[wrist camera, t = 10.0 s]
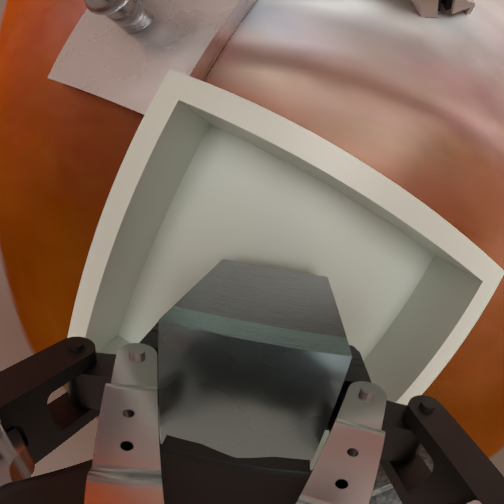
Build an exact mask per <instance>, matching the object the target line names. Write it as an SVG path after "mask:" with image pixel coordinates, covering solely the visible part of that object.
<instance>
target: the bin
mask: <svg viewBox="0 0 504 504" xmlns="http://www.w3.org/2000/svg"><path fill="white" fill-rule="evenodd" d="M222 259H226V260H231V261H237V262H243V263H248V264H254V265H260V266H266V267H271V268H277V269H283V270H289V271H295V272H301V273H307V274H312V275H318V276H324V277H328V280H329V283H330V286H331V289H332V292H333V295H334V298H335V302H336V305H337V308H338V311H339V314H340V317H341V320H342V324H343V327H344V330H345V333H346V337H347V340H348V343H349V345H352V346H354V347H355V348H356V349H357V350H358V351H359V352H360V354H361V356H362V359H363V361H364V364H365V367H366V369H367V372H368V374H369V377H370V380H371V382H372V383H374V384H376V385H378V386H380V387H381V388H382V389H383V390H384V391H385V392H386V394H387V400H388V401H391V402H395V403H399V404H403V405H408V403H409V401H410V399H411V398H412V397H414V396H418V395H422V394H423V393H424V391H425V390H426V389H427V388H428V387H429V386H430V384H431V383H432V382H433V381H434V380H435V378H436V377H437V376H438V375H439V373H440V372H441V371H442V369H443V368H444V367H445V366H446V364H447V363H448V362H449V360H450V359H451V358H452V356H453V355H454V354H455V352H456V351H457V350H458V348H459V347H460V345H461V344H462V342H463V341H464V340H465V338H466V337H467V335H468V334H469V332H470V331H471V329H472V328H473V326H474V325H475V323H476V322H477V320H478V318H479V317H480V315H481V314H482V312H483V310H484V309H485V307H486V305H487V304H488V302H489V300H490V299H491V297H492V295H493V293H494V292H495V290H496V288H497V286H498V284H499V283H500V281H501V279H502V277H503V275H504V270H503V269H502V268H501V267H499V266H498V265H497V264H496V263H495V262H494V261H493V260H492V259H491V258H490V257H489V256H488V255H486V254H485V253H484V252H483V251H482V250H481V249H480V248H479V247H477V246H476V245H475V244H474V243H473V242H472V241H470V240H469V239H468V238H467V237H466V236H464V235H463V234H462V233H461V232H460V231H458V230H457V229H456V228H455V227H454V226H452V225H451V224H450V223H449V222H447V221H446V220H445V219H443V218H442V217H441V216H440V215H438V214H437V213H436V212H434V211H433V210H432V209H430V208H429V207H428V206H426V205H425V204H424V203H422V202H421V201H420V200H418V199H417V198H416V197H414V196H413V195H411V194H410V193H409V192H407V191H406V190H404V189H403V188H401V187H400V186H399V185H397V184H396V183H394V182H393V181H391V180H390V179H388V178H387V177H385V176H384V175H382V174H381V173H379V172H378V171H376V170H375V169H373V168H371V167H370V166H368V165H367V164H365V163H364V162H362V161H360V160H359V159H357V158H356V157H354V156H352V155H351V154H349V153H347V152H346V151H344V150H342V149H341V148H339V147H337V146H335V145H334V144H332V143H330V142H329V141H327V140H325V139H323V138H321V137H320V136H318V135H316V134H314V133H312V132H311V131H309V130H307V129H305V128H303V127H301V126H299V125H297V124H296V123H294V122H292V121H290V120H288V119H286V118H284V117H282V116H280V115H278V114H276V113H274V112H272V111H270V110H268V109H266V108H263V107H261V106H259V105H257V104H255V103H253V102H251V101H248V100H246V99H244V98H242V97H240V96H237V95H235V94H233V93H230V92H228V91H226V90H223V89H221V88H219V87H216V86H214V85H211V84H209V83H206V82H204V81H201V80H199V79H196V78H193V77H191V76H188V75H185V74H183V73H180V72H177V71H174V70H171V69H170V70H169V71H168V73H167V75H166V77H165V78H164V80H163V82H162V84H161V85H160V87H159V89H158V91H157V93H156V94H155V96H154V98H153V100H152V102H151V104H150V106H149V107H148V109H147V111H146V113H145V115H144V117H143V119H142V121H141V123H140V125H139V127H138V129H137V131H136V133H135V135H134V138H133V140H132V142H131V144H130V146H129V148H128V151H127V153H126V155H125V157H124V160H123V162H122V164H121V166H120V169H119V171H118V174H117V176H116V178H115V181H114V183H113V186H112V188H111V191H110V193H109V196H108V198H107V201H106V204H105V206H104V209H103V212H102V215H101V217H100V220H99V223H98V226H97V229H96V232H95V235H94V238H93V241H92V244H91V247H90V250H89V254H88V257H87V260H86V264H85V267H84V271H83V274H82V278H81V281H80V285H79V289H78V293H77V297H76V301H75V305H74V309H73V313H72V318H71V323H70V327H69V332H68V337H67V338H69V337H84V338H88V339H90V340H91V341H93V342H94V344H95V348H96V352H97V353H107V354H117V351H118V349H119V348H120V347H122V346H123V345H126V344H130V343H139V342H140V341H141V340H142V339H143V338H144V337H145V336H146V335H147V333H148V332H149V331H151V329H152V328H153V327H154V326H155V324H156V323H157V322H158V321H159V319H160V318H161V317H162V316H163V315H164V314H165V313H166V312H167V311H168V310H169V309H170V308H172V307H173V306H174V305H175V304H176V303H177V302H178V301H179V300H180V299H181V298H182V297H183V296H184V295H185V294H186V293H187V292H188V291H189V290H190V289H192V288H193V287H194V286H195V285H196V284H197V283H198V282H199V281H200V280H201V279H202V278H203V277H204V276H205V275H206V274H207V273H209V272H210V271H211V270H212V269H213V268H214V267H215V266H216V265H217V264H218V263H219V262H220V261H221V260H222ZM159 424H160V416H159ZM328 436H329V430H325V432H324V434H323V436H322V439H321V441H320V443H319V446H318V448H317V450H316V452H315V455H314V457H313V459H312V461H311V463H310V470H313V468H314V466H315V464H316V462H317V460H318V458H319V456H320V454H321V451H322V449H323V447H324V445H325V443H326V440H327V438H328ZM160 439H161V435H160Z"/></svg>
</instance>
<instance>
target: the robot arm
mask: <svg viewBox="0 0 504 504" xmlns="http://www.w3.org/2000/svg"><path fill="white" fill-rule="evenodd" d="M158 328H159V321H158V322H157V323H156V324H155V326H154V327H153V328H152V329H151V331H149V332H148V333H147V335H146V336H145V337H144V338H143V339H142V340H141V341H140V342H139V343H130V344H126V345H123V346H122V347H120V348H119V349H118V351H117V354H107V353H97V352H96V348H95V344H94V342H93V341H91V340H90V339H88V338H84V337H69V338H66V339H64V340H62V341H60V342H58V343H56V344H54V345H52V346H50V347H48V348H46V349H44V350H42V351H40V352H38V353H36V354H34V355H32V356H30V357H28V358H26V359H24V360H22V361H20V362H19V363H16V364H14V365H13V366H11V367H9V368H7V369H5V370H3V371H1V372H0V504H369V501H370V498H371V494H372V490H373V487H374V483H375V479H376V475H377V471H378V467H379V462H380V464H381V466H382V468H383V469H384V471H385V473H386V475H387V477H388V478H389V480H390V482H391V484H392V486H393V488H394V489H395V491H396V493H397V495H398V497H399V498H400V500H401V502H402V504H504V477H503V475H502V474H501V473H500V472H499V471H498V469H497V468H496V467H495V466H494V465H493V464H492V462H491V461H490V460H489V459H488V457H487V456H486V455H485V454H484V453H483V452H482V450H481V449H480V448H479V447H478V446H477V445H476V443H475V442H474V441H473V440H472V439H471V438H470V436H469V435H468V434H467V433H466V432H465V431H464V430H463V428H462V427H461V426H460V425H459V424H458V423H457V422H456V420H455V419H454V418H453V417H452V416H451V415H450V414H449V413H448V411H447V410H446V409H445V408H444V407H443V406H442V405H441V404H440V403H439V402H438V401H437V400H435V399H434V398H431V397H429V396H424V395H418V396H414V397H412V398H411V399H410V401H409V403H408V405H403V404H399V403H395V402H391V401H388V400H387V394H386V392H385V391H384V390H383V389H382V388H381V387H380V386H378V385H376V384H374V383H372V382H371V380H370V377H369V374H368V372H367V369H366V367H365V364H364V361H363V359H362V356H361V354H360V352H359V351H358V350H357V349H356V348H355V347H354V346H352V345H349V347H350V350H351V354H352V359H351V362H350V365H349V368H348V371H347V374H346V376H345V379H344V382H343V385H342V388H341V391H340V393H339V396H338V399H337V401H336V404H335V407H334V409H333V412H332V414H331V417H330V419H329V422H328V424H327V427H326V429H325V430H329V436H328V438H327V440H326V443H325V445H324V447H323V449H322V451H321V454H320V456H319V458H318V460H317V462H316V464H315V466H314V468H313V470H310V460H304V459H293V458H283V457H258V458H235V457H232V456H229V455H227V454H224V453H222V452H219V451H217V450H215V449H212V448H210V447H207V446H205V445H203V444H200V443H196V442H192V441H188V440H184V439H180V438H177V437H173V436H169V435H166V437H165V439H164V442H163V444H161V442H160V424H159V387H158ZM65 384H66V387H67V391H68V392H66V393H65V394H63V395H62V396H60V397H59V398H57V399H56V400H54V401H52V402H51V403H49V404H48V405H47V400H48V397H49V395H50V394H51V393H52V392H53V391H55V390H57V389H58V388H60V387H61V386H63V385H65ZM99 414H100V415H99ZM98 415H99V421H98V427H97V433H96V440H95V447H94V454H93V459H92V460H89V461H86V462H83V463H80V464H77V465H74V466H71V467H67V468H64V469H60V470H57V471H54V472H50V473H46V474H42V475H38V476H34V477H31V475H32V474H33V472H34V468H35V464H36V463H37V462H38V461H40V460H41V459H42V458H44V457H45V456H46V455H48V454H49V453H50V452H52V451H53V450H54V449H55V448H57V447H58V446H59V445H61V444H62V443H63V442H65V441H66V440H67V439H68V438H70V437H71V436H72V435H74V434H75V433H76V432H78V431H79V430H80V429H81V428H83V427H84V426H85V425H86V424H88V423H89V422H90V421H92V420H93V419H94V418H95V417H97V416H98ZM423 447H424V449H425V450H426V451H427V453H428V454H429V456H430V457H431V458H432V460H433V471H432V472H431V471H430V469H429V468H428V466H427V465H426V464H425V462H424V461H423V459H422V458H421V456H420V455H419V453H420V451H421V450H422V448H423Z"/></svg>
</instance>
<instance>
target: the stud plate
mask: <svg viewBox="0 0 504 504" xmlns="http://www.w3.org/2000/svg"><path fill="white" fill-rule="evenodd" d="M255 2H256V0H85V4H86V7H87V9H86V11H85V12H84V14H83V15H82V17H81V18H80V20H79V22H78V23H77V25H76V26H75V28H74V30H73V31H72V33H71V34H70V36H69V38H68V40H67V41H66V43H65V45H64V47H63V48H62V50H61V52H60V54H59V56H58V58H57V59H56V61H55V63H54V65H53V67H52V69H51V71H50V73H49V75H48V77H47V78H49V79H52V80H55V81H58V82H61V83H63V84H66V85H69V86H72V87H75V88H77V89H80V90H83V91H86V92H88V93H91V94H93V95H96V96H99V97H101V98H104V99H106V100H109V101H111V102H114V103H116V104H119V105H121V106H124V107H126V108H129V109H131V110H134V111H136V112H138V113H141V114H143V115H145V113H146V111H147V109H148V107H149V106H150V104H151V102H152V100H153V98H154V96H155V94H156V93H157V91H158V89H159V87H160V85H161V84H162V82H163V80H164V78H165V77H166V75H167V73H168V71H169V70H170V69H171V70H174V71H177V72H180V73H183V74H185V75H188V76H191V77H193V78H196V79H199V80H201V81H203V80H204V79H205V77H206V75H207V74H208V72H209V70H210V69H211V67H212V65H213V64H214V62H215V61H216V59H217V57H218V56H219V54H220V53H221V51H222V50H223V48H224V46H225V45H226V43H227V42H228V40H229V39H230V37H231V36H232V34H233V33H234V31H235V30H236V28H237V27H238V25H239V24H240V23H241V21H242V20H243V18H244V17H245V15H246V14H247V13H248V11H249V10H250V9H251V7H252V6H253V4H254V3H255Z"/></svg>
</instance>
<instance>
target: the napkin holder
mask: <svg viewBox="0 0 504 504" xmlns="http://www.w3.org/2000/svg"><path fill="white" fill-rule="evenodd" d="M411 2H412V3H413V5H414V6H415V8H416V10H417V11H418V13H419V14H420V16H422V17H437V12H438V11H440V10H441V3H442V5H443V6H444V8H445V9H446V10H449V9H450V11H451V12H452V14H454V13H457V12H459V11H462V10H464V11H465V13H466V14H470V13H471V12H472V10H473V8H474V6H475V3H474V2H473V0H411Z"/></svg>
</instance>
